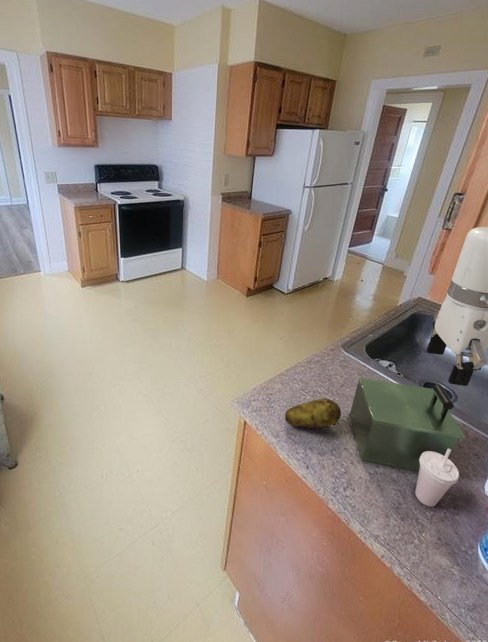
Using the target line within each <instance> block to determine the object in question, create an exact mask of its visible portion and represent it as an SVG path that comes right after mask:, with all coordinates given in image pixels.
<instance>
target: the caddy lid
mask: <svg viewBox="0 0 488 642" xmlns="http://www.w3.org/2000/svg"><path fill="white" fill-rule="evenodd" d="M358 381H359V382H360V385H361V388H362V391H363V394H364V397H365V400H366V403H367V406H368V409H369V412H370V415H371V418H372V421H373V423H377V424H383V425H389V426H394V427H400V428H405V429H411V430H417V431H422V432H428V433H433V434H439V435H444V436H450V437H456V438H458V439H462V440H464V439H465V437H466V436H465V434H464V433H463V431H462V429H461V428H460V426H459V425H458V423H457V421H456V420H455V418H454V416H453V415H452V413H451V411H450V410H452V409H454V407H455V405H454V403H453V401H452V399H451V398H450V397H449V395H448V394H447V392H446V390H445V389H444V387H443V386H442V385H441V384H434V385H433V386H432V387H431V388H429V387H422V386H416V385H412V384H411V385H410V384H405V383H397V382H392V381H391V382H390V381H384V380H378V379H373V378H365V377H359V378H358Z"/></svg>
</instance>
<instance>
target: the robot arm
mask: <svg viewBox="0 0 488 642" xmlns="http://www.w3.org/2000/svg"><path fill="white" fill-rule="evenodd" d="M457 259H458V260H457V263H456V265H455V268H454V270H453V274H452V277H451V280H450V283H449V286H448V289H447V291H446V294H445V295H446V296H445V297H444V300H443V302H442V304H441V306H440V308H439V311H434V314H433V322H432V330H431V331H430V335H431V336H430V339H429V341H428V344H427V347H426V353H427V354H432V355H440V356H443V355H444V353H445V351H446V348H449V350H450V351H451V352H452V353H453V354H455V360H456V365H453V366H452V369H451V371H450V373H449V377H448V379H447V383H448V384H450V385H456V386H461V387H468V385H469V383H470V381H471V379H472V376H473V373H474V372H477V371H480V370H482V368H483V367H485V366H486V365H487V364H488V359H487V357H486V353H487V350H488V226H477V227H474V228H472V229H470V230H469V231H468V232H467V234H466V237H465V239H464V242H463V245H462V248H461V251H460V254H459V257H458V258H457ZM466 351H468V352H466ZM464 357H468V361H464Z"/></svg>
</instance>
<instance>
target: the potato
mask: <svg viewBox="0 0 488 642" xmlns="http://www.w3.org/2000/svg"><path fill="white" fill-rule="evenodd" d="M284 414H285V415H284V419H285V420H284V421H285V422H286V423H287V424H288V425H290V426H292V427H296V428H297V427H300V426H301V427H305V428H320V427H326V426H336V425H337V424H338V423H339V421H340V418H341V416H342V410H341V407H340V405H339V404H338V403H336V402H335V401H334V400H332V399H330V398H325V397H324V398H323V397H322V398H318V399H314V400H310V401H308V402H305V403H301V404H297V405H294V406H292V407H290V408H288V409H287V410H286V411H285V413H284Z"/></svg>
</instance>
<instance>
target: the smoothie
mask: <svg viewBox="0 0 488 642" xmlns="http://www.w3.org/2000/svg"><path fill="white" fill-rule="evenodd" d="M450 452H451V449H447V452H446V454H445V456H443V455H441V454H439V453H437V452H433V451H426V452H423V453H422V455H421V457H420V459H419V462H420V469H419V472H418V474H417V475H418V476H417V481H416V487H415V492H414V493H415V496H416V498H417V500H418V501H419V502H421V504H423V505H425V506H426V507H429V508H432V507H435V506H436V505H437V504H438V503H439V502H440V500H442V498H443V496H444V495H445V494H446V493H447V492H448V490H449V489H450V488H451V487H452V486H453V485H455V484H457V482H458V481H459V477H460V472H459V469H458V468H457V465H455V464H454V462H453V461H452V460H450V458H449V459H448V457H449V454H450Z"/></svg>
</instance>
